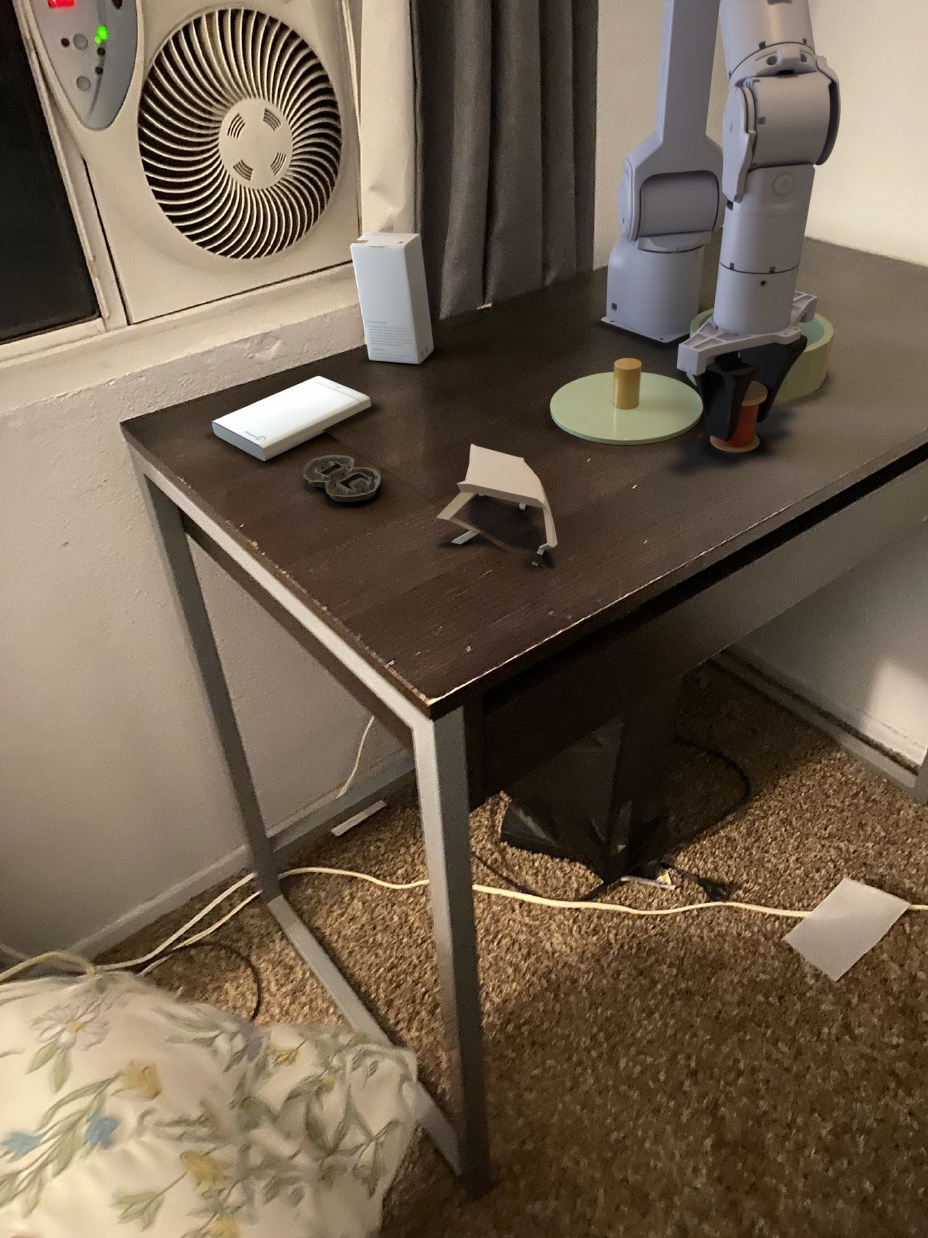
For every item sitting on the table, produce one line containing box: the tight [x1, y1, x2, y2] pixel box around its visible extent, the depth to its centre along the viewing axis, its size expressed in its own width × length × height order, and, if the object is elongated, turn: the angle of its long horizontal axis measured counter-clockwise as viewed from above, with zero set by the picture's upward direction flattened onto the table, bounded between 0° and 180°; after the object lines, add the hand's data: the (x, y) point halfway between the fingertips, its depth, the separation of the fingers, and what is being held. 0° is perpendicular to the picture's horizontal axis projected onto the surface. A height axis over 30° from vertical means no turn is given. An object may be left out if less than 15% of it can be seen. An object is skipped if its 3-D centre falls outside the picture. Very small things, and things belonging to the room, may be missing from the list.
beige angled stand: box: [435, 443, 558, 567], centre depth 67 cm, size 12×8×5 cm
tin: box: [685, 307, 835, 402], centre depth 85 cm, size 13×13×5 cm
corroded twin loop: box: [302, 454, 382, 503], centre depth 75 cm, size 5×8×1 cm, turn 45°
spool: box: [709, 381, 768, 453], centre depth 75 cm, size 4×4×5 cm
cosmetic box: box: [349, 231, 435, 365], centre depth 92 cm, size 6×4×12 cm
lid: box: [549, 357, 704, 446], centre depth 81 cm, size 14×14×5 cm
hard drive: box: [211, 375, 372, 462], centre depth 85 cm, size 2×8×12 cm
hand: (735, 427), depth 75 cm, fingers closed on spool, 4 cm apart
